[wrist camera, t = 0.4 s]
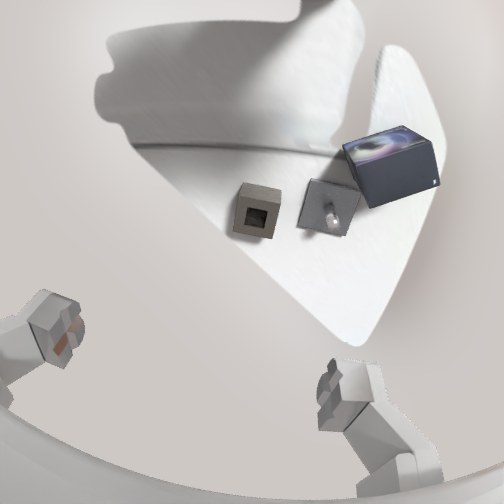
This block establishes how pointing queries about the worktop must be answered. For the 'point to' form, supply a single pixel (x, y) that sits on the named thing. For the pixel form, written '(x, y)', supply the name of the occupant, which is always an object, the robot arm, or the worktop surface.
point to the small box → (392, 165)
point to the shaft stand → (329, 207)
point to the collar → (255, 220)
